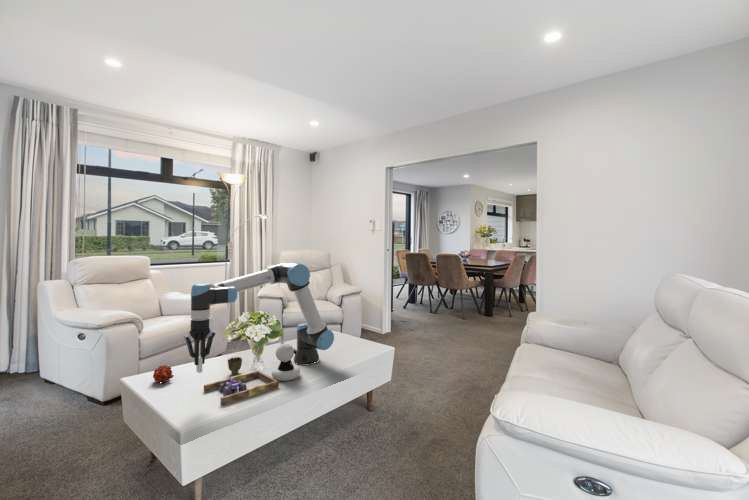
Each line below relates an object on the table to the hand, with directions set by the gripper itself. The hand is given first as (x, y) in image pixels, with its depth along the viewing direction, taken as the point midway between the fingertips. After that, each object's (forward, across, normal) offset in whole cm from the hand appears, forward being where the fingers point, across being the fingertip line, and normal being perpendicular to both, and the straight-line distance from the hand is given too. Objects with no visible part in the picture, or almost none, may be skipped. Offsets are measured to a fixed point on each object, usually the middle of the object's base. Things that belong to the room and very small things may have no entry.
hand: (199, 371), depth 156 cm
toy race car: (+14, -15, -1) cm, 21 cm away
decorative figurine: (+13, -44, +1) cm, 46 cm away
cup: (+14, -27, -23) cm, 38 cm away
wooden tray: (+13, -20, 0) cm, 24 cm away
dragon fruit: (+14, +4, -37) cm, 40 cm away
